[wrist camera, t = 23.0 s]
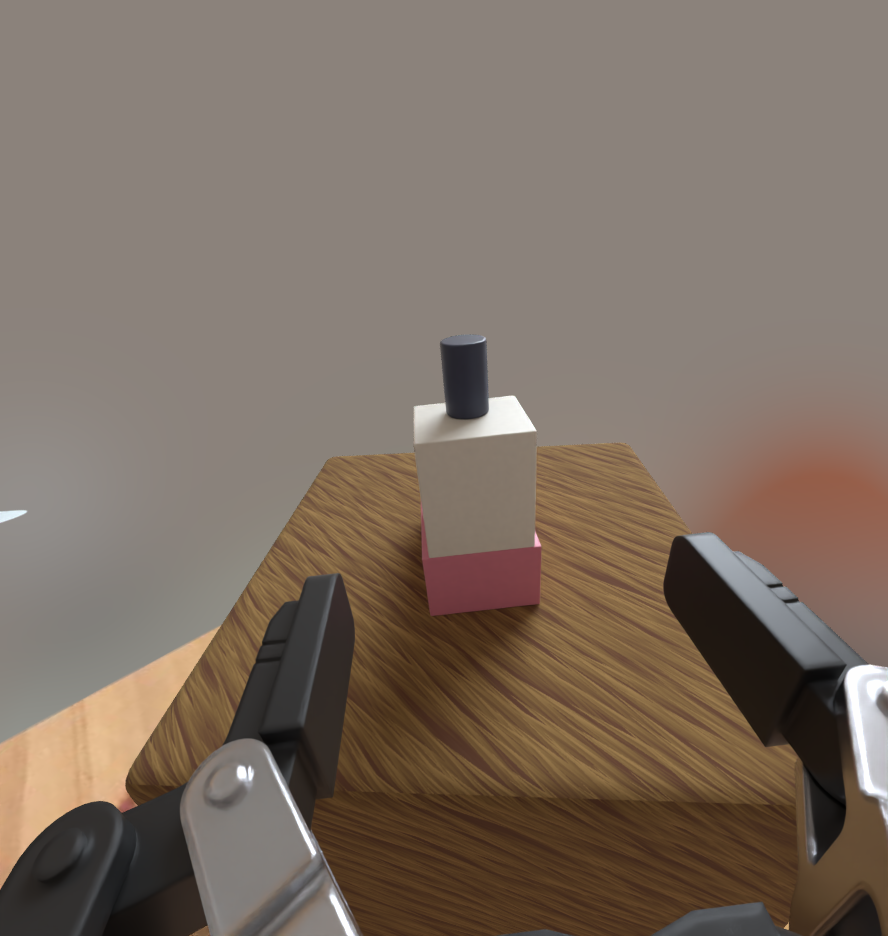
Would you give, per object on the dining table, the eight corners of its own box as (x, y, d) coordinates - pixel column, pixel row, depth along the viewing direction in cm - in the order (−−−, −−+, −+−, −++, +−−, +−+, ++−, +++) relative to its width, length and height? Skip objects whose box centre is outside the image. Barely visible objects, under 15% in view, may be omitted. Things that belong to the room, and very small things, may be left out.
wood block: (600, 647, 46) (629, 438, 34) (713, 1021, 24) (903, 813, 12) (375, 648, 49) (327, 454, 36) (294, 988, 27) (107, 787, 15)
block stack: (540, 604, 20) (547, 348, 14) (430, 616, 20) (393, 364, 14) (502, 495, 28) (498, 306, 23) (425, 503, 28) (401, 316, 23)
